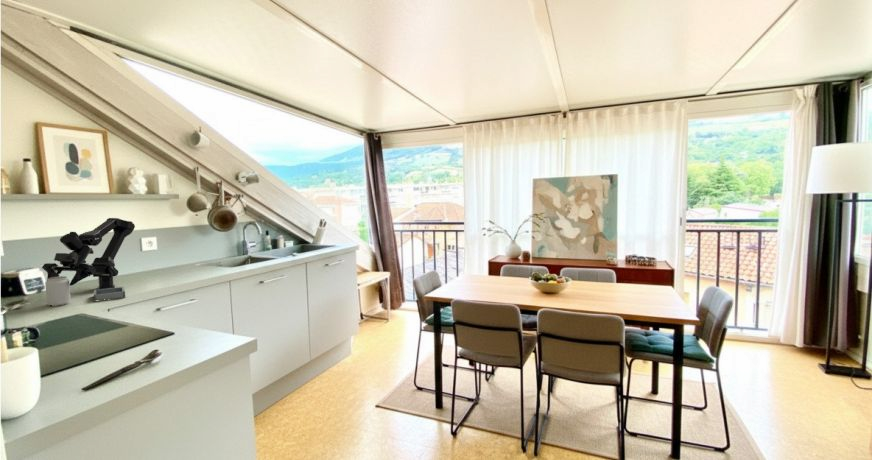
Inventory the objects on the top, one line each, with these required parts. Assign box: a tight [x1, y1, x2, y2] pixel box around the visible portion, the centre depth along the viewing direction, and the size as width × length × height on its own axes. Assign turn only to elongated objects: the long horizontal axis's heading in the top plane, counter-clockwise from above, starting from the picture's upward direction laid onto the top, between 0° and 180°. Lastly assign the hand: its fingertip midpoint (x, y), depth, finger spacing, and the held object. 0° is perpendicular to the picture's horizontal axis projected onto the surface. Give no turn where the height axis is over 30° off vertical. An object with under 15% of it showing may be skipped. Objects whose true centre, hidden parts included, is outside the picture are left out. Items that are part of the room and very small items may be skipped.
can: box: [44, 275, 72, 307], centre depth 167 cm, size 8×8×12 cm
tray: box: [93, 286, 126, 301], centre depth 180 cm, size 11×11×3 cm
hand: (59, 285), depth 168 cm, fingers open, 9 cm apart
